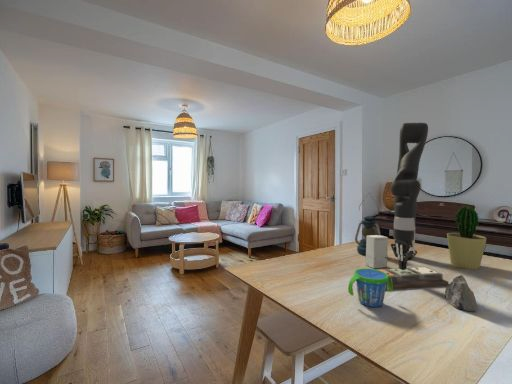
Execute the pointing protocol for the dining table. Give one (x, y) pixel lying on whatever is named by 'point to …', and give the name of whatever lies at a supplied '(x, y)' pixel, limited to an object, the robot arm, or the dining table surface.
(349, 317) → the dining table surface
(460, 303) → the mineral rock
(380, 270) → the orange flat square block
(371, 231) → the lantern
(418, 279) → the button panel
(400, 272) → the sage button
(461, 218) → the potted cactus
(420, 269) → the cream button
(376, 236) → the skincare box
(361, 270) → the snack cup
